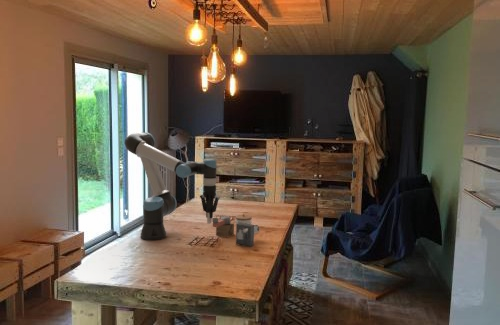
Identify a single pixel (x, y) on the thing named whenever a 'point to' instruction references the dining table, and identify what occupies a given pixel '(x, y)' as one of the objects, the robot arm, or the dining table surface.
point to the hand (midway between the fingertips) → (209, 223)
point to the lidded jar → (243, 219)
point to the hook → (246, 232)
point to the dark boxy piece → (250, 239)
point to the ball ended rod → (221, 221)
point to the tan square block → (225, 230)
